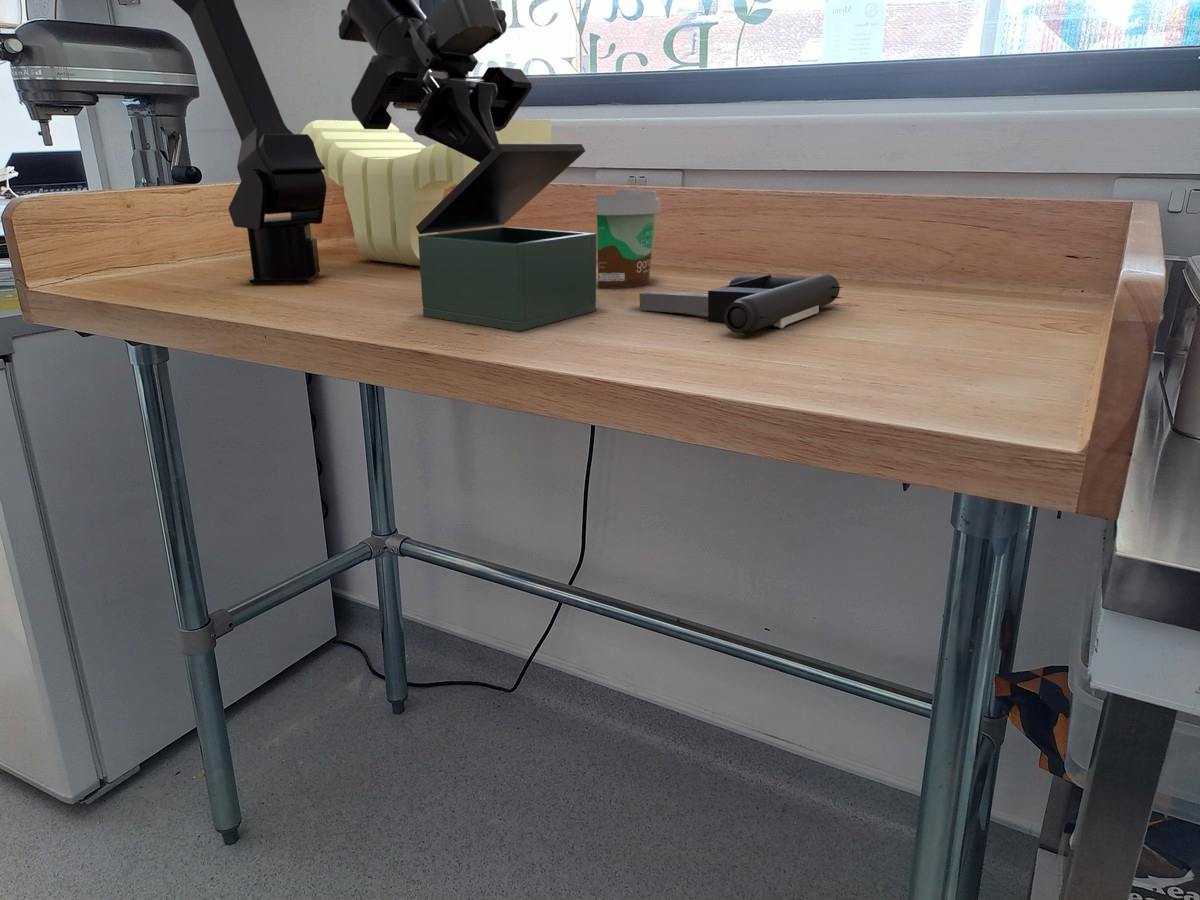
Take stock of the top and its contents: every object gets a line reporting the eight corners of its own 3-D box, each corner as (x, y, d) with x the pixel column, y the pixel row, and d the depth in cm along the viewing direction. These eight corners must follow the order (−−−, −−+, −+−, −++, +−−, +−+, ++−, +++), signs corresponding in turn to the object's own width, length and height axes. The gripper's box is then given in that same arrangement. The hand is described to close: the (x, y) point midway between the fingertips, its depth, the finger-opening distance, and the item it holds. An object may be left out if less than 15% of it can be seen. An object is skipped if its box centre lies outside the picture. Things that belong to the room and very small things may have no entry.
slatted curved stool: (310, 257, 118) (296, 119, 112) (399, 246, 130) (389, 121, 124) (468, 277, 101) (461, 117, 95) (552, 263, 114) (550, 120, 108)
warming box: (596, 311, 82) (596, 233, 80) (519, 331, 73) (517, 244, 71) (504, 298, 88) (501, 226, 86) (423, 316, 79) (417, 235, 77)
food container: (650, 291, 93) (653, 196, 89) (595, 289, 94) (595, 195, 90) (665, 275, 104) (668, 189, 101) (615, 273, 105) (616, 188, 102)
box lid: (586, 151, 78) (581, 143, 78) (503, 152, 69) (498, 143, 69) (503, 225, 86) (499, 218, 86) (419, 234, 77) (415, 226, 77)
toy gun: (603, 292, 78) (765, 301, 68) (711, 268, 93) (855, 273, 84) (604, 329, 79) (765, 342, 69) (711, 299, 94) (853, 307, 85)
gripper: (360, -59, 67) (472, 89, 65) (513, -23, 81) (609, 99, 79) (307, 57, 74) (407, 194, 72) (457, 71, 88) (544, 186, 86)
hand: (499, 165), depth 77 cm, fingers closed
